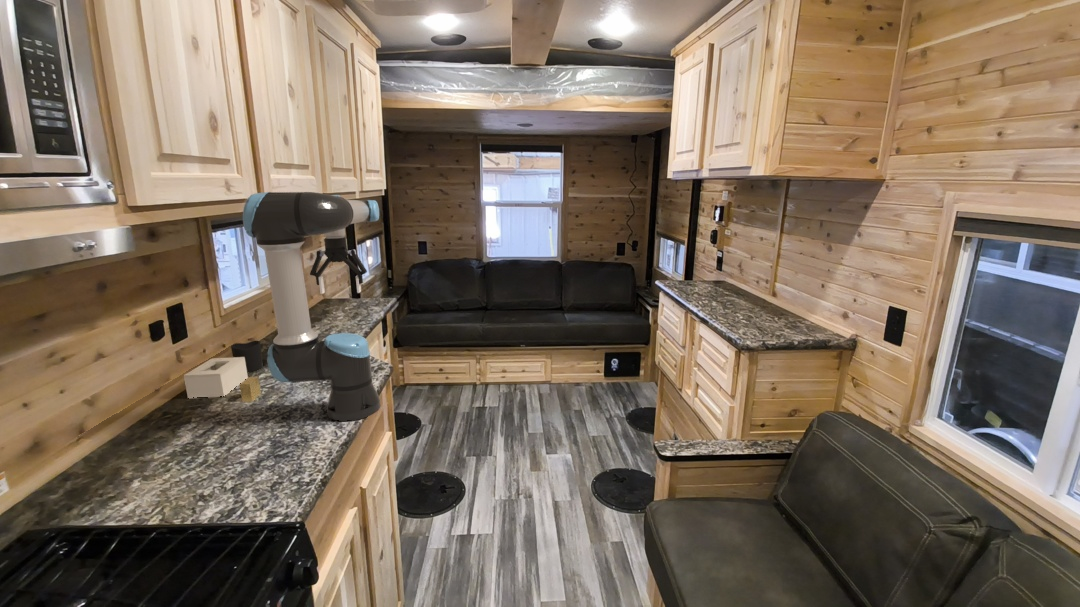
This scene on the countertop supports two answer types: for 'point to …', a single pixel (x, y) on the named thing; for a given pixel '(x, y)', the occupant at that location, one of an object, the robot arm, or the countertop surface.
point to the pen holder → (249, 354)
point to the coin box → (215, 377)
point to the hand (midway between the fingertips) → (341, 292)
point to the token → (250, 389)
